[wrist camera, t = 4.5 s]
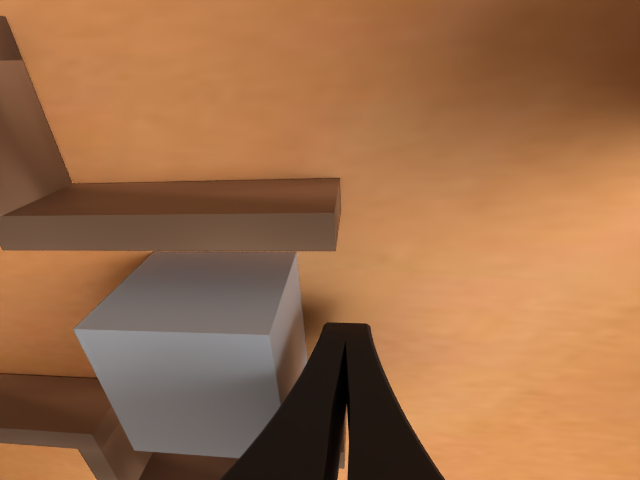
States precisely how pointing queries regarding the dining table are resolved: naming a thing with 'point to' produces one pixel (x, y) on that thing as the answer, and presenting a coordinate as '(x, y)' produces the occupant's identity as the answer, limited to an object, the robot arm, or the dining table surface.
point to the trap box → (127, 235)
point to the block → (199, 348)
